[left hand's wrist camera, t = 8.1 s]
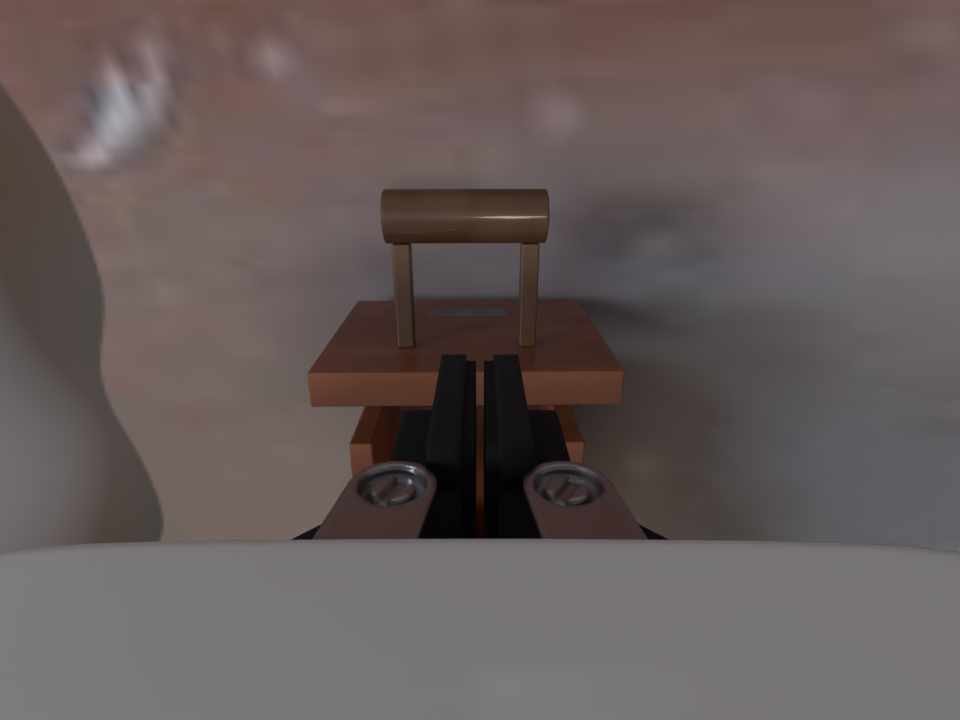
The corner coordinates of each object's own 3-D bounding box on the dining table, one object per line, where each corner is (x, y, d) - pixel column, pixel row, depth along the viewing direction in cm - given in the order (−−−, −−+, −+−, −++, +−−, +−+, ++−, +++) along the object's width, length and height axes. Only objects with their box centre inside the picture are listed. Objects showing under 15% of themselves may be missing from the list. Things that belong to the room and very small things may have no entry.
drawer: (347, 177, 23) (283, 197, 16) (586, 176, 23) (643, 196, 16) (385, 625, 33) (358, 778, 25) (556, 623, 33) (583, 775, 25)
